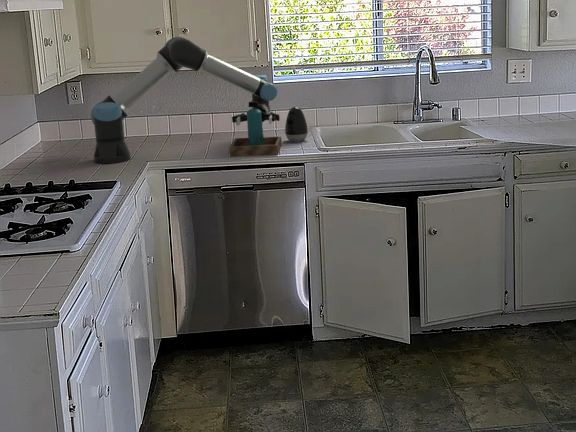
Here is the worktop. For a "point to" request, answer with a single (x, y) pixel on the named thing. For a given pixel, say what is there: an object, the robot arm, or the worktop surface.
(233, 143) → the walnut tray
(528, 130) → the worktop surface
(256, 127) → the beverage bottle
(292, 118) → the egg on grey base
